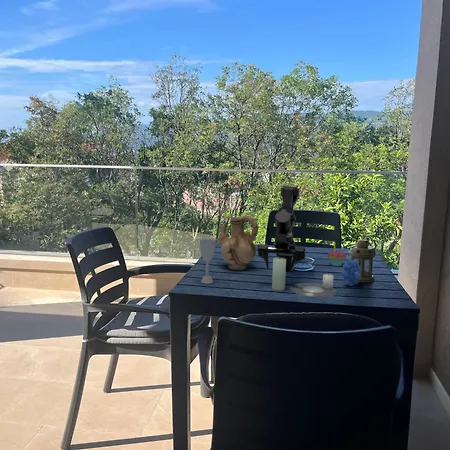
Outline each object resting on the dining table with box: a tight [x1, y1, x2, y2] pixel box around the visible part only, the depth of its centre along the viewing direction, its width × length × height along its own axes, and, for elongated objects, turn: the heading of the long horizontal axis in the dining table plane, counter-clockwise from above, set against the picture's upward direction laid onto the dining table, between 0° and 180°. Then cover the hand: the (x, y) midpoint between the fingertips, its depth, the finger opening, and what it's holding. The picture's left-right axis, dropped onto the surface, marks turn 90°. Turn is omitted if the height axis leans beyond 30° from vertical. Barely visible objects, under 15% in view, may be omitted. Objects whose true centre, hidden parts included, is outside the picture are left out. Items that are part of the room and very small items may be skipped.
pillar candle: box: [271, 256, 287, 292], centre depth 177 cm, size 5×5×14 cm
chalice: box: [198, 236, 217, 284], centre depth 188 cm, size 7×7×18 cm
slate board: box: [289, 282, 338, 298], centre depth 178 cm, size 18×18×1 cm
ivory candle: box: [322, 273, 334, 289], centre depth 180 cm, size 4×4×6 cm
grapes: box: [340, 258, 362, 287], centre depth 184 cm, size 12×7×12 cm, turn 128°
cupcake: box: [327, 240, 347, 267], centre depth 220 cm, size 9×8×12 cm
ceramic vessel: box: [215, 215, 259, 271], centre depth 210 cm, size 18×19×25 cm
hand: (279, 269), depth 178 cm, fingers open, 9 cm apart
